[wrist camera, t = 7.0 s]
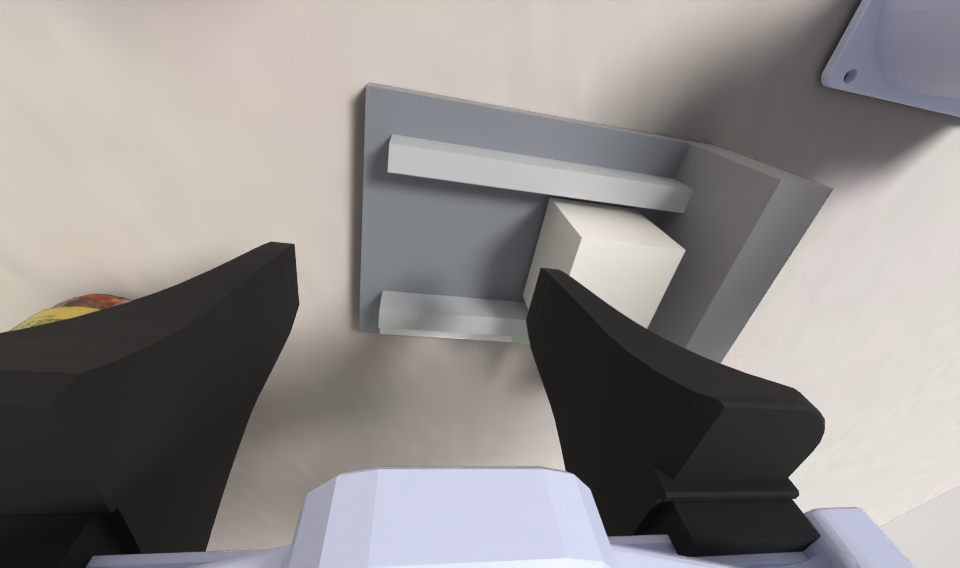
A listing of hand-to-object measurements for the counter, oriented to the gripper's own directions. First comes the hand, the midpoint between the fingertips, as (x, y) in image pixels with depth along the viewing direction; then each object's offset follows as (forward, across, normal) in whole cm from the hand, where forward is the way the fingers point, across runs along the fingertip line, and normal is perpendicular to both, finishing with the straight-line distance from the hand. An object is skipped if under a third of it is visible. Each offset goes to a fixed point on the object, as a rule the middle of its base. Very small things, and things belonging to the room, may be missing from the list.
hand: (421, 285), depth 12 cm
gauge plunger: (+5, -7, +3) cm, 9 cm away
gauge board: (+7, -5, +1) cm, 8 cm away
